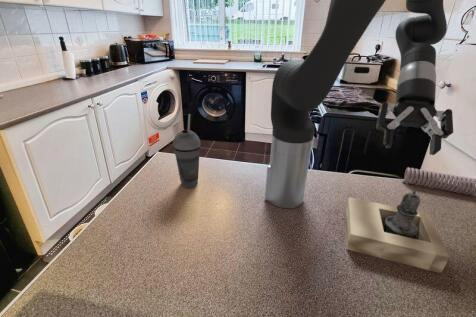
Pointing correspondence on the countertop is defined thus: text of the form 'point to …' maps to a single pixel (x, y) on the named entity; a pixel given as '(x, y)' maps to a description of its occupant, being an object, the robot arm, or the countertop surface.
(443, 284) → the countertop surface
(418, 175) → the coil
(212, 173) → the countertop surface
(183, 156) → the beverage cup
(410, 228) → the grey tall knobbed piece
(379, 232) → the jig
